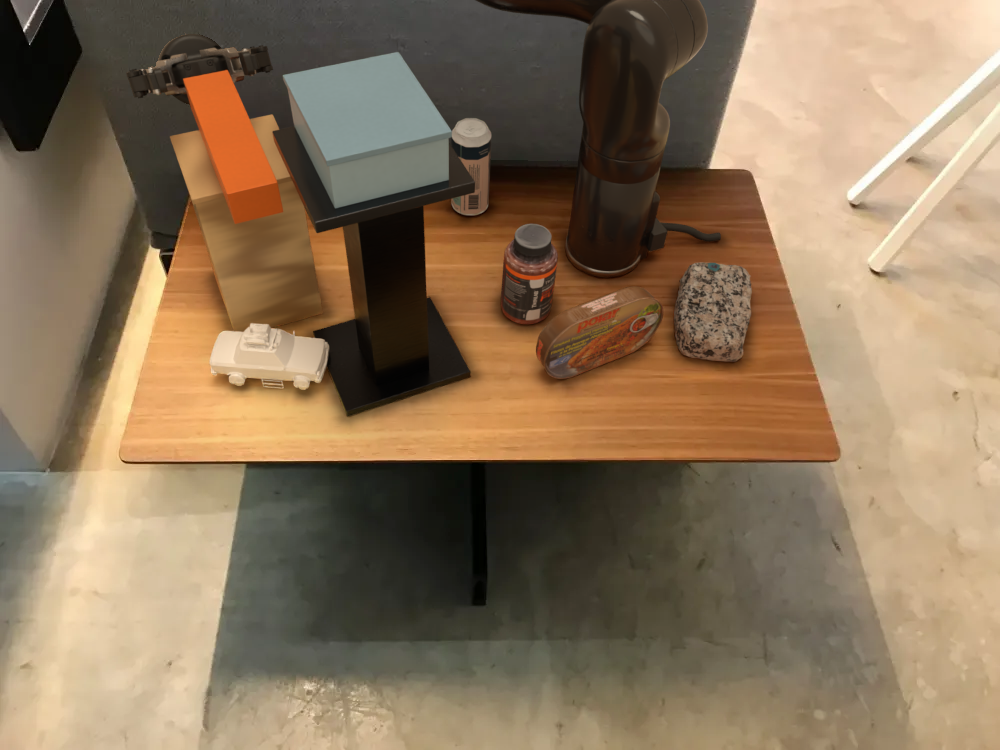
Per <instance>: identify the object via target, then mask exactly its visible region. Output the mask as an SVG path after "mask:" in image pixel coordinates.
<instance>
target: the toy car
mask: <svg viewBox="0 0 1000 750" xmlns="http://www.w3.org/2000/svg"><path fill="white" fill-rule="evenodd" d="M328 355H329V344H328V343H327V342H325V340H324V339H319V338H314V337H309V336H301V335H296V331H295V330H292V333H290V332H288V331H286V330H284V329H282V328H276V327H274V328H271V327H270V326H269V324H256V323H251V324H250V327H248V328H247V329H246V330H245V331H244V332H237V331H233V330H222V331H221V332H220V333H218V335H217V337H216V340H215V342H214V344H213V348H212V350H211V353H210V357H209V366H210V373H211V375H212V376H218V374H219V375H226V376H228V382H229V383H230V384H231V385H235V386H237V387H242V386H244V385H245V382H246V379H247V378H248V379H259V380H261V384H262V386H263V388H269V389H271V388H272V389H285V387H284V386H285V385H284V382H283V381H288V382H293V384H292V385H293V386H294V387H295V388H296V389H299V390H300V391H301V390H302V391H306V390H308V389H309V387H310V384H311V382H314V383H317V384H320V383H321V382H322V381H323V378H324V374H325V372H326V369H327V367H326V366H327V361H328ZM264 381H265V382H264ZM272 382H273V383H272ZM274 382H276V383H274ZM277 382H278V383H277ZM267 385H272V386H267ZM280 386H281V387H280Z"/></svg>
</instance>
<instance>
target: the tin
mask: <svg viewBox="0 0 1000 750" xmlns="http://www.w3.org/2000/svg"><path fill="white" fill-rule="evenodd" d="M663 317H664V307H663V304H662V303H661V302H660V300H659V299H657V298H655V296H654V295H652V293H650V291H649V290H648V289H646V288H644V287H642V286H637V285H636V286H635V285H634V286H627V287H623V288H621V289H618V290H616V291H613V292H610V293H607V294H604V295H602V296H599V297H597V298H594V299H591V300H589V301H586V302H583V303H581V304H579V305H576V306H573V307H570V308H568V309H565V310H563V311H561V312H560V313H558V314H557V315H555V316H554V317H553V318H551V319H550V321H548V322H547V323H546V324H545V326H544V327H543V328H542V330H541V331H540V333H539V335H538V337H537V341H536V346H535V355H536V357H537V360H538V361H539V363H540V364H541V365H542V367H543V369H544V371H545V373H546V374H547V375H548V376H550V377H551V378H553V379H557V380H558V379H559V380H565V379H566V380H567V379H569V378H573V377H574V378H575V377H576V376H579V375H581V374H583V373H586V372H588V371H591V370H594V369H596V368H598V367H600V366H603V365H605V364H608V363H611V362H613V361H616V360H618V359H620V358H623V357H625V356H626V357H627V356H628V355H630V354H632V353H634V352H636V351H637V350H639V349H641V348H642V347H643V346H644V345H645V344H647V343H648V342H649V341H650V340H651V339H652V338H653V337H654V335H655V334H656V332H657V331H658V329H659V327H660V326H661V324H662V321H663Z"/></svg>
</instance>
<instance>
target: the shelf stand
mask: <svg viewBox="0 0 1000 750" xmlns="http://www.w3.org/2000/svg"><path fill="white" fill-rule="evenodd" d="M279 129H280V128H279ZM272 133H273V138H274V142H275V145H276V147H277V149H278V151H279V153H280V155H281V158H282V160H283V162H284V164H285V166H286V168H287V171H288V173H289V175H290V177H291V179H292V181H293V184H294V186H295V188H296V190H297V192H298V194H299V196H300V199H301V201H302V203H303V205H304V208H305V213H306V215H307V216H308V218H309V220H310V222H311V224H312V227H313V229H314V231H315V233H316V234H322V233H324V232H328V231H332V230H336V229H340V228H342V231H343V239H344V246H345V247H344V248H345V255H346V262H347V268H348V276H349V284H350V291H351V292H350V293H351V298H352V299H351V300H352V306H353V307H352V308H353V313H354V314H353V315H354V318H353V319H350V320H347V321H343V322H339V323H336V324H333V325H329V326H326V327H322V328H319V329H316V330H313V331H312V334H313V338H319V339H324V340H325V342H327V343H328V344H329V355H328V361H327V366H326V369H327V372H328V374H329V377H330V379H331V381H332V384H333V387H334V389H335V391H336V394H337V395H338V398H339V400H340V403H341V406H342V408H343V410H344V413H345V415H346V417H347V418H348V417H352V416H354V415H357V414H361V413H364V412H366V411H370V410H373V409H377V408H379V407H382V406H385V405H388V404H392V403H395V402H397V401H400V400H404V399H407V398H410V397H413V396H416V395H419V394H423V393H425V392H429V391H431V390H434V389H437V388H441V387H443V386H447V385H450V384H453V383H456V382H459V381H463V380H467V379H468V378H471V370H470V367H469V366H468V364H467V362H466V360H465V359H464V357H463V355H462V353H461V352H460V351H461V350H460V349H459V348H458V346H457V344H456V342H455V340H454V338H453V336H452V335H451V332H450V331H449V329H448V327H447V326H446V323H445V322H444V319H443V318H442V316H441V314H440V313H439V310H438V309H437V307H436V305H435V303H434V301H433V300H432V297H431V296H428V295H427V268H426V266H427V265H426V264H427V263H426V240H425V239H426V238H425V236H426V235H425V210H424V207H425V206H428V205H429V206H430V205H433V204H437V203H440V202H444V201H448V200H451V199H452V198H456V197H460V196H464V195H468V194H472V193H475V181H474V180H473V178H472V177H471V175H470V174H469V172H468V171H467V169H466V168H465V166H464V164H463V163H462V161H461V160H460V158H459V157H458V155H457V154H456V152H455V151H454V149H453V148H452V146H451V144H450V143H451V142H449V180H447V181H443V182H439V183H435V184H431V185H427V186H423V187H419V188H415V189H411V190H407V191H403V192H399V193H395V194H391V195H387V196H383V197H379V198H375V199H371V200H367V201H363V202H359V203H355V204H351V205H347V206H343V207H340V208H335V207H334V205H333V203H332V201H331V199H330V197H329V195H328V193H327V191H326V189H325V187H324V185H323V183H322V181H321V179H320V177H319V175H318V173H317V171H316V169H315V167H314V165H313V163H312V161H311V159H310V157H309V155H308V153H307V151H306V149H305V147H304V145H303V143H302V141H301V139H300V136H299V134H298V132H297V130H296V128H295V126H294V125H293V126H289V127H284V128H281V129H280V130H275V131H272ZM427 296H428V297H427Z"/></svg>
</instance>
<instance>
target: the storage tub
mask: <svg viewBox="0 0 1000 750" xmlns="http://www.w3.org/2000/svg"><path fill="white" fill-rule="evenodd" d="M282 80H283V82H284V84H285V87H286V88H287V92H288V98H289V104H290V110H291V115H292V121H293V126H295V128H296V130H297V132H298V134H299V136H300V139H301V141H302V143H303V145H304V147H305V149H306V151H307V153H308V155H309V157H310V159H311V161H312V163H313V165H314V167H315V169H316V171H317V173H318V175H319V177H320V179H321V181H322V183H323V185H324V187H325V189H326V191H327V193H328V195H329V197H330V199H331V201H332V203H333V205H334V207H335V208H340V207H343V206H347V205H351V204H355V203H359V202H363V201H367V200H371V199H375V198H379V197H383V196H387V195H391V194H395V193H399V192H403V191H407V190H411V189H415V188H419V187H423V186H427V185H431V184H435V183H439V182H443V181H447V180H449V143H450V141H449V139H451V137H452V130H451V128H450V126H449V125H448V123H447V122H446V120H445V119H444V118H443V116H442V115H441V113H440V112H439V110H438V109H437V107H436V106H435V104H434V102H433V101H432V99H431V98H430V97H429V95H428V93H427V92H426V90H425V89H424V88H423V86H422V85H421V83H420V81H419V80H418V79H417V77H416V76H415V74H414V73H413V71H412V70H411V68H410V67H409V65H408V64H407V62H406V61H405V59H404V58H403V56H402V55H401V53H400V52H399V51H395V52H391V53H385V54H381V55H380V54H379V55H376V56H370V57H366V58H361V59H356V60H351V61H346V62H341V63H336V64H335V63H334V64H331V65H325V66H321V67H316V68H312V69H307V70H301V71H296V72H291V73H287V74H283V75H282Z"/></svg>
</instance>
